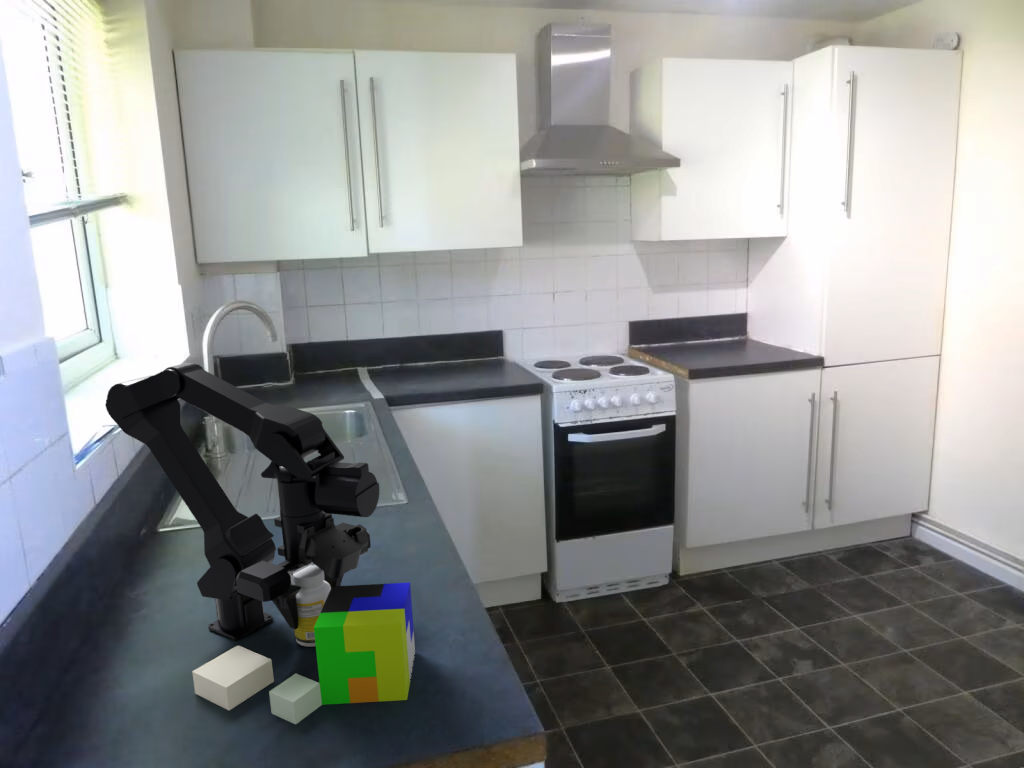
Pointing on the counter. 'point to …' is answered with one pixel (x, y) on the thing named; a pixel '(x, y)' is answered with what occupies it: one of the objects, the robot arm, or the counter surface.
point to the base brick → (233, 677)
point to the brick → (295, 698)
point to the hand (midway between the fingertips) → (313, 617)
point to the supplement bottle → (309, 602)
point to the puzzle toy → (365, 643)
